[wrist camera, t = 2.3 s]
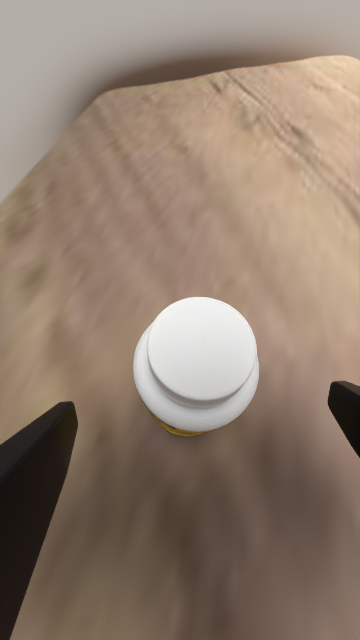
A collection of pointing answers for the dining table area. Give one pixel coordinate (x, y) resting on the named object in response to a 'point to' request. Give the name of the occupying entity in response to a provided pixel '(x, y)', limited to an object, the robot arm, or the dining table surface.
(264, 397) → the dining table surface
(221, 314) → the supplement bottle
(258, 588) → the dining table surface
